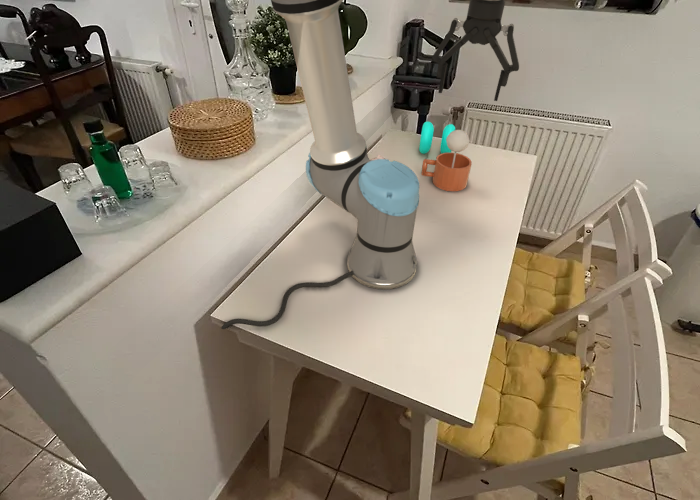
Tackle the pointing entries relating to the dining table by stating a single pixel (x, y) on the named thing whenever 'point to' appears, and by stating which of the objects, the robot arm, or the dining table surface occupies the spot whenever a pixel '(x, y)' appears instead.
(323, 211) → the dining table surface
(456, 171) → the mug
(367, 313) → the dining table surface
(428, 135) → the donuts
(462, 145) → the lollipop
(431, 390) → the dining table surface
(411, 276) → the robot arm
